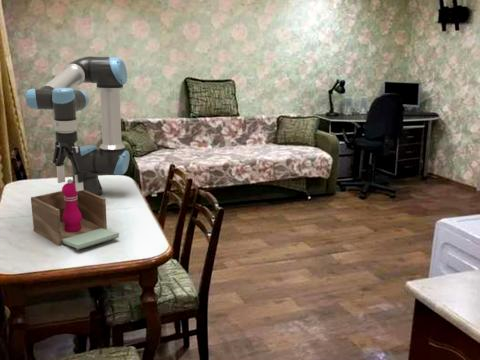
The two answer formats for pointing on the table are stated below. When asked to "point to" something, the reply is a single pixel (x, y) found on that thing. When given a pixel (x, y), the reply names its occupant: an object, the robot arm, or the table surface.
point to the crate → (52, 208)
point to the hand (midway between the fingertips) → (70, 186)
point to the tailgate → (90, 238)
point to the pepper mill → (71, 208)
